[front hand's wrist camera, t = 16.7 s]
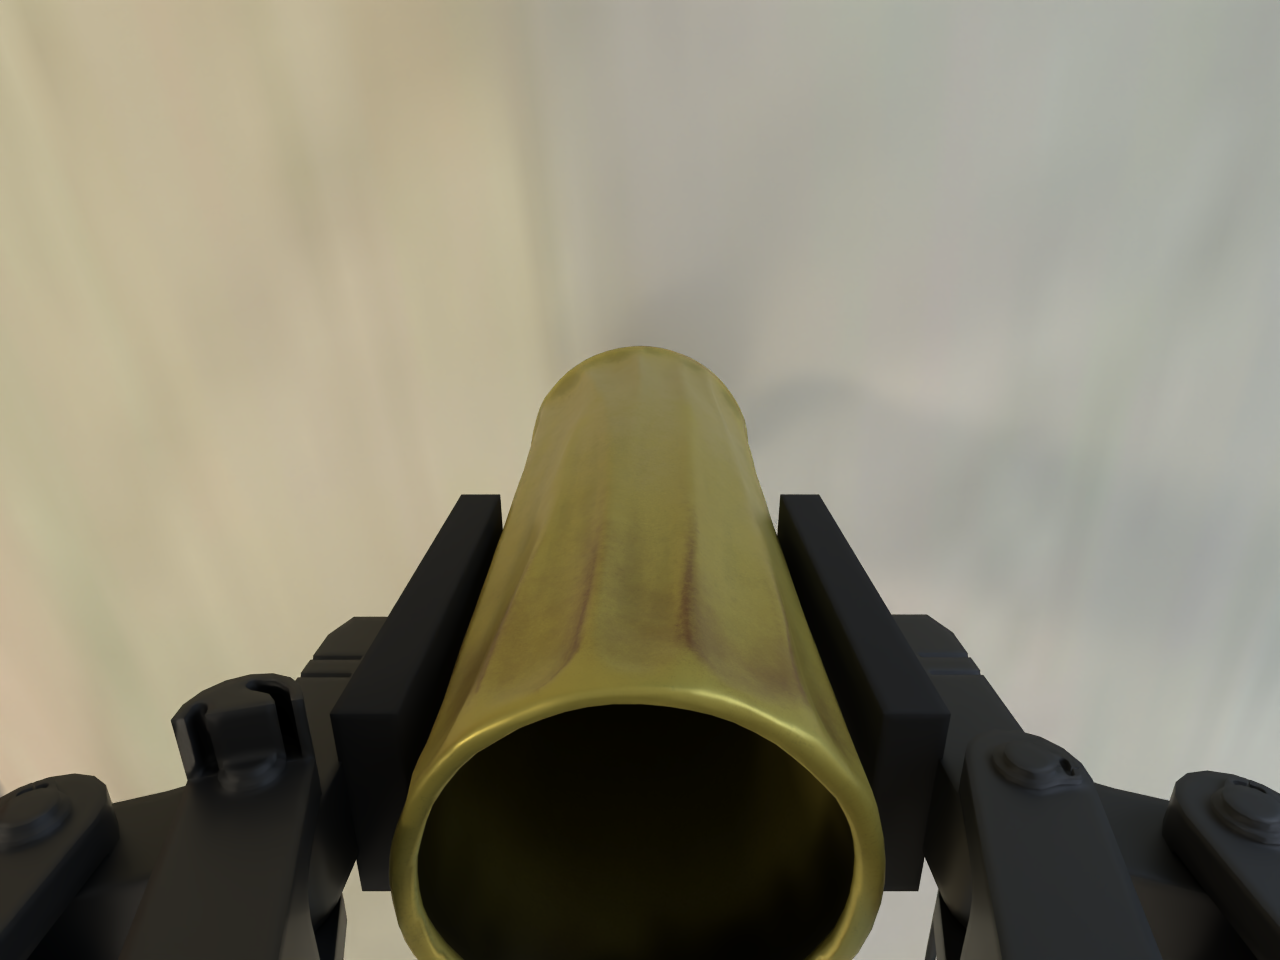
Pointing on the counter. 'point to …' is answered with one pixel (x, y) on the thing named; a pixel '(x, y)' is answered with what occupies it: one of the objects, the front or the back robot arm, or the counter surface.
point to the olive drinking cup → (638, 710)
